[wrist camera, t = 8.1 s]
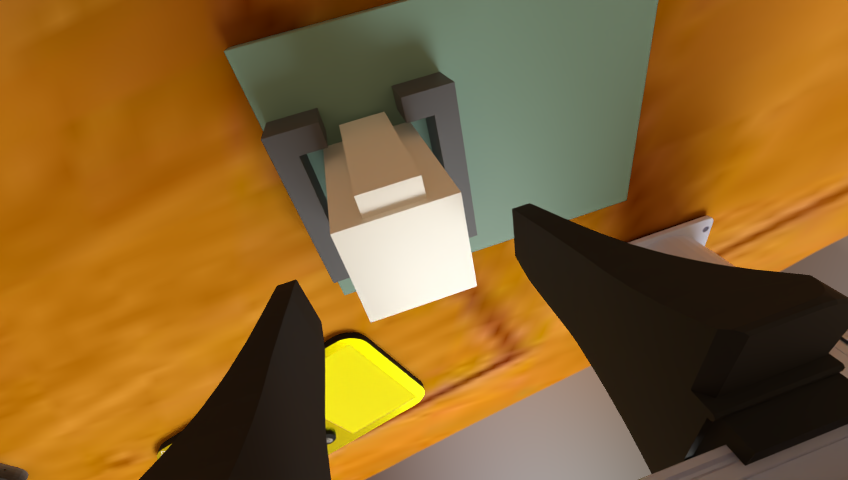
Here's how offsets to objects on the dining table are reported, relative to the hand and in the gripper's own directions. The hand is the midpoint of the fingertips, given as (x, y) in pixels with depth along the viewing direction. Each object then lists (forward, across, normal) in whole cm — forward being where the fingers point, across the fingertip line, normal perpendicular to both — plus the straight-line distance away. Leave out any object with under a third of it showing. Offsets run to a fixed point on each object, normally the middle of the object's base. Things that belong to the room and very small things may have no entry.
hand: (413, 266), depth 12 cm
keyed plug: (+7, 0, 0) cm, 7 cm away
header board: (+8, -5, 0) cm, 9 cm away
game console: (+9, +12, +18) cm, 23 cm away
